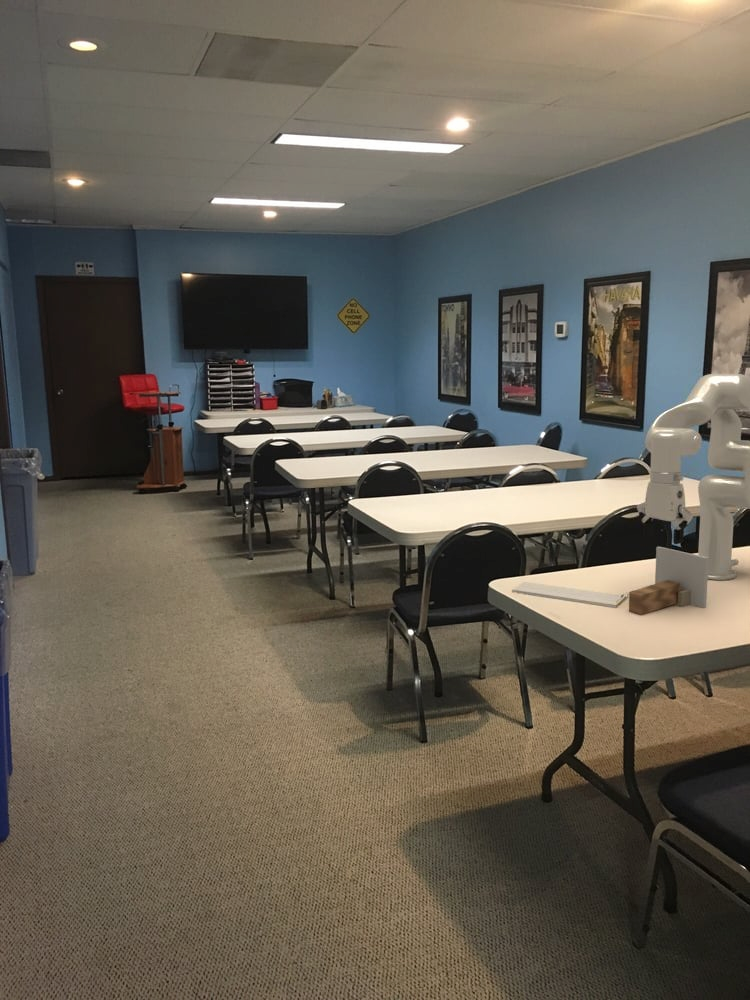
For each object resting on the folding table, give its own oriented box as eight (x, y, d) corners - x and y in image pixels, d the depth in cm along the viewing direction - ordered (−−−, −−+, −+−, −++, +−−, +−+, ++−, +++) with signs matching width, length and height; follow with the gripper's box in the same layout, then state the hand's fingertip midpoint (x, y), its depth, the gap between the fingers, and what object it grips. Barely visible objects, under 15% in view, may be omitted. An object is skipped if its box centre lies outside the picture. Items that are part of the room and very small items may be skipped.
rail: (667, 598, 219) (667, 579, 218) (679, 602, 216) (679, 583, 215) (628, 611, 211) (629, 592, 210) (641, 615, 207) (641, 595, 206)
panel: (657, 593, 226) (659, 546, 223) (706, 607, 212) (708, 557, 210) (645, 596, 223) (647, 549, 221) (694, 610, 210) (696, 560, 207)
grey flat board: (527, 584, 241) (512, 594, 231) (527, 575, 240) (512, 585, 230) (628, 598, 224) (616, 610, 214) (629, 588, 223) (616, 600, 213)
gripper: (702, 480, 203) (699, 543, 206) (647, 472, 217) (646, 532, 220) (683, 483, 199) (681, 548, 202) (629, 475, 213) (628, 536, 216)
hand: (663, 539), depth 211 cm, fingers open, 9 cm apart
